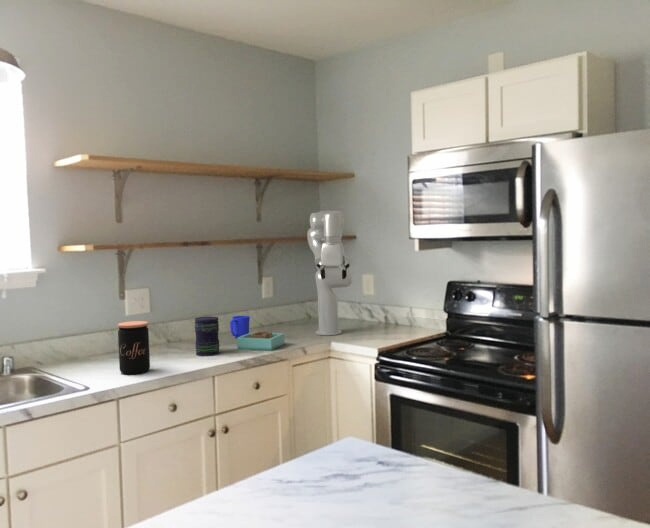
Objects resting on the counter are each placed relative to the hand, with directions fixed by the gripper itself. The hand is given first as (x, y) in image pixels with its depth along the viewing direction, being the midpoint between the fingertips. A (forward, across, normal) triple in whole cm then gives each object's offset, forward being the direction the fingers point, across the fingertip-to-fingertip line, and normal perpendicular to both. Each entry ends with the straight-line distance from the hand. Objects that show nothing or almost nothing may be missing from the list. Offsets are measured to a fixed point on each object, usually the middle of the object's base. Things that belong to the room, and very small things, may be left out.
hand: (333, 278), depth 271 cm
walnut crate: (+27, -28, -18) cm, 43 cm away
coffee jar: (+28, -54, -71) cm, 94 cm away
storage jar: (+28, -44, -36) cm, 64 cm away
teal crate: (+28, -28, -18) cm, 44 cm away
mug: (+28, -48, 0) cm, 56 cm away
